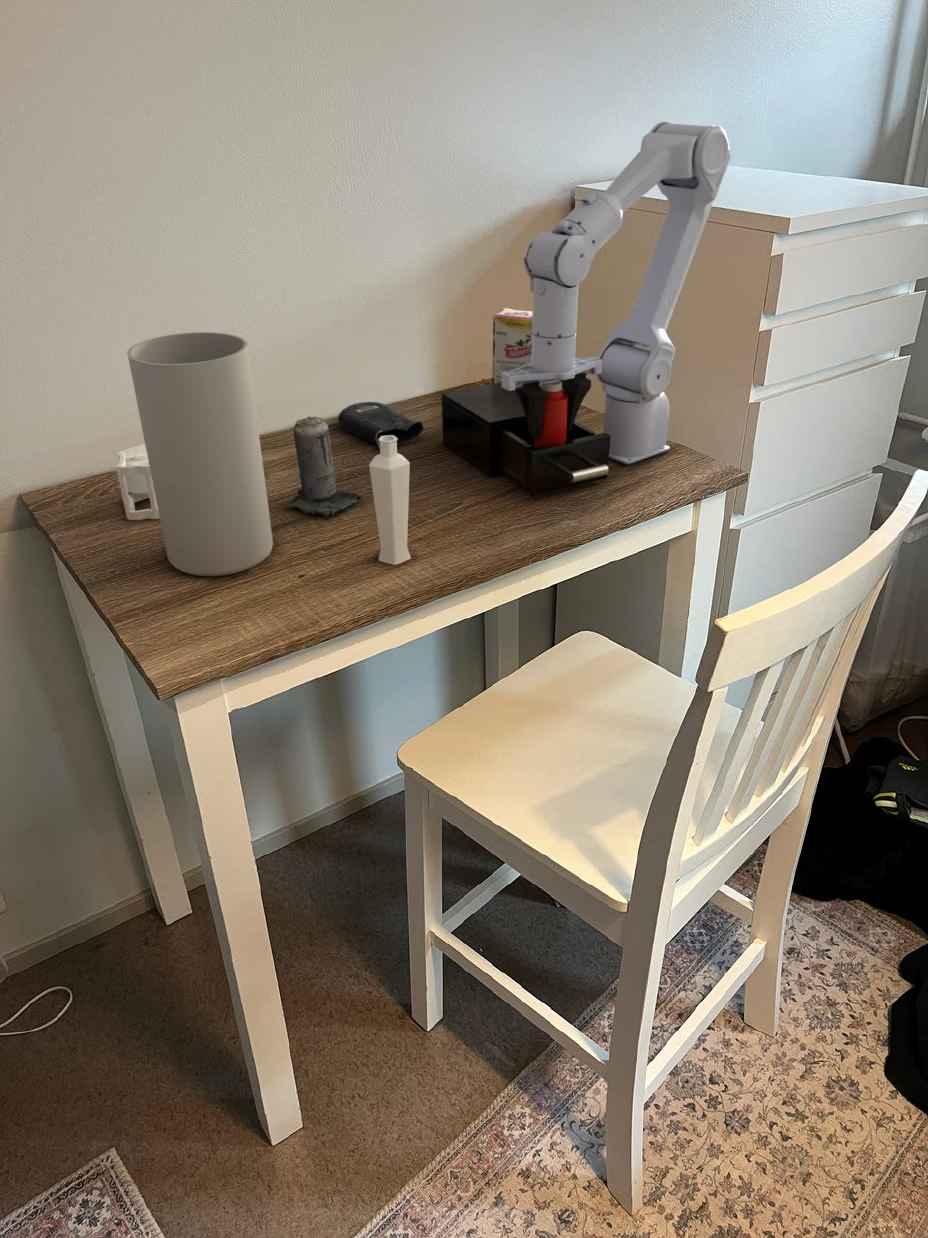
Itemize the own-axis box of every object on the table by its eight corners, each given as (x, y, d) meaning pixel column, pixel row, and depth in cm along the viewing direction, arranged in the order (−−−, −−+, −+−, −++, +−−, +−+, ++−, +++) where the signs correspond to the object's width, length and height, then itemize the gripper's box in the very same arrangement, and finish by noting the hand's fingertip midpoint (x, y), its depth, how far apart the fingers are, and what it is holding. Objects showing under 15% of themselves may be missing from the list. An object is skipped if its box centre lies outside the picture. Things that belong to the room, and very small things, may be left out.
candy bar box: (490, 416, 156) (491, 314, 147) (502, 406, 160) (503, 307, 151) (555, 425, 152) (559, 321, 143) (565, 415, 156) (570, 313, 147)
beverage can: (281, 512, 125) (270, 425, 119) (308, 490, 131) (300, 406, 125) (343, 522, 122) (335, 433, 116) (368, 499, 128) (362, 413, 122)
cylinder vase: (279, 570, 111) (252, 358, 98) (169, 586, 108) (127, 369, 95) (267, 525, 122) (241, 328, 108) (166, 538, 119) (127, 337, 106)
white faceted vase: (408, 567, 112) (403, 447, 104) (373, 564, 112) (364, 444, 105) (418, 550, 116) (413, 432, 108) (383, 547, 116) (376, 430, 108)
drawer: (627, 490, 128) (631, 446, 124) (550, 509, 123) (552, 464, 120) (554, 447, 141) (556, 406, 138) (481, 462, 137) (481, 420, 133)
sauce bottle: (550, 437, 134) (552, 374, 129) (572, 446, 131) (575, 382, 126) (527, 444, 131) (528, 381, 126) (548, 454, 128) (551, 389, 124)
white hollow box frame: (246, 464, 139) (239, 416, 135) (277, 490, 131) (270, 439, 127) (108, 496, 130) (97, 445, 126) (132, 526, 122) (121, 472, 118)
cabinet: (569, 459, 140) (572, 406, 135) (489, 477, 134) (489, 422, 130) (518, 428, 151) (519, 378, 146) (442, 444, 145) (441, 392, 141)
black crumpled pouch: (428, 445, 149) (378, 407, 158) (426, 414, 145) (374, 377, 154) (378, 466, 145) (329, 426, 154) (374, 435, 141) (324, 395, 150)
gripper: (522, 347, 117) (519, 452, 124) (618, 331, 123) (610, 432, 130) (493, 334, 122) (493, 435, 129) (587, 319, 128) (581, 416, 135)
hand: (550, 432), depth 130 cm, fingers closed on sauce bottle, 4 cm apart
